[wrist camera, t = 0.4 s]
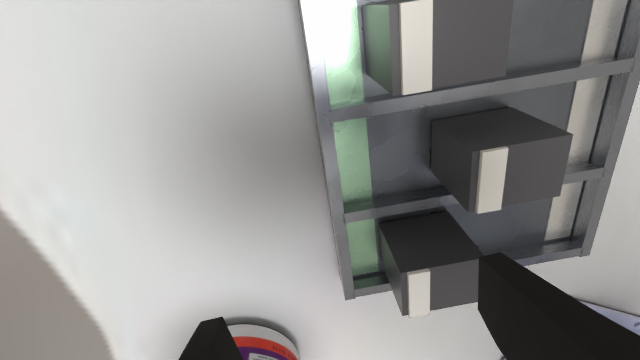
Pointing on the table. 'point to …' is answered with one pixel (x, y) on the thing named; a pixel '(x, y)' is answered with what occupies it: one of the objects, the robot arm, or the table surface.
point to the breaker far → (429, 263)
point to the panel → (462, 99)
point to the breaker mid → (499, 158)
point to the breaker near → (435, 42)
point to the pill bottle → (262, 343)
